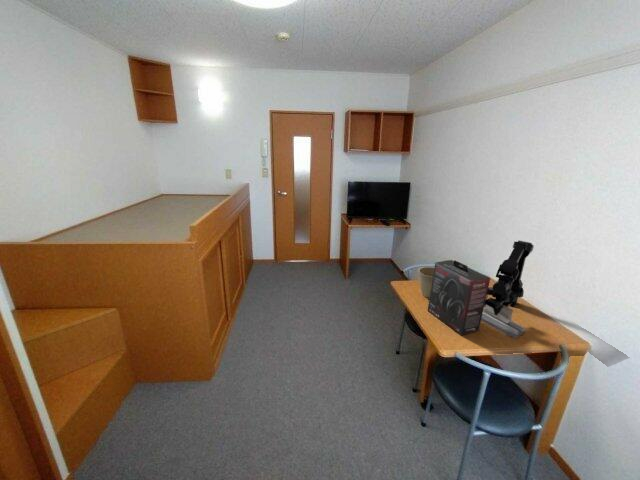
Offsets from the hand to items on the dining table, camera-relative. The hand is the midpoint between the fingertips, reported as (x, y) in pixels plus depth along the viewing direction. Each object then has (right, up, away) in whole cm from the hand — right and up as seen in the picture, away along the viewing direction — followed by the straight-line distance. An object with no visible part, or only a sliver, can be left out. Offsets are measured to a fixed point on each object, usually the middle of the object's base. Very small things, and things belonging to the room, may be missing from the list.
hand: (497, 314), depth 149 cm
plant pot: (-26, +4, +28) cm, 38 cm away
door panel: (0, -1, 0) cm, 2 cm away
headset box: (-23, -4, +3) cm, 23 cm away
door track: (0, -5, +2) cm, 5 cm away
